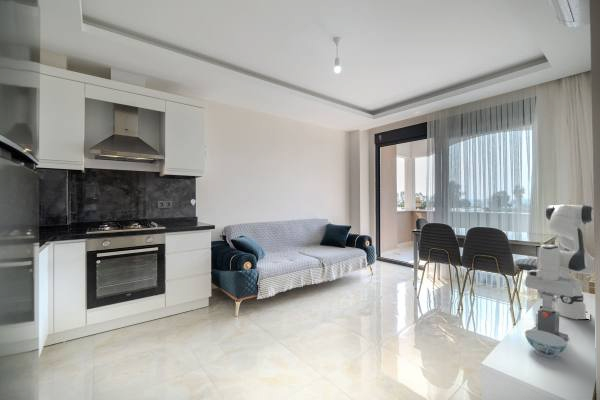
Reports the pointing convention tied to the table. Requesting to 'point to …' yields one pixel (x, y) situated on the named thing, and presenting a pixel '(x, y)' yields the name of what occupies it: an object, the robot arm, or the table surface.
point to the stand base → (549, 323)
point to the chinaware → (545, 342)
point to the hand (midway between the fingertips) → (548, 299)
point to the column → (548, 302)
